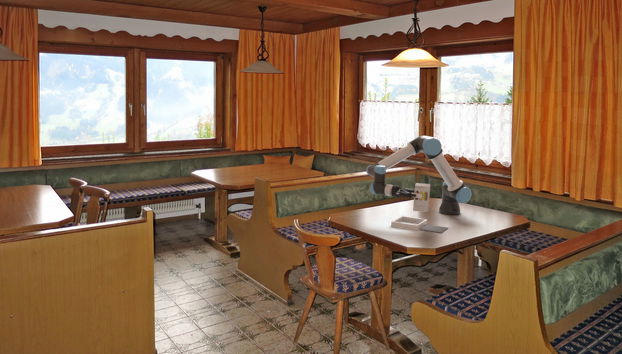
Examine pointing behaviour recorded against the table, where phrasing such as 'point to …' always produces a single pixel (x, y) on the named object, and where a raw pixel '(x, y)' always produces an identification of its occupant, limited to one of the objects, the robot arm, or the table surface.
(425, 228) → the charcoal mat
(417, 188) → the supplement box
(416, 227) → the beige square tray
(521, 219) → the table surface
